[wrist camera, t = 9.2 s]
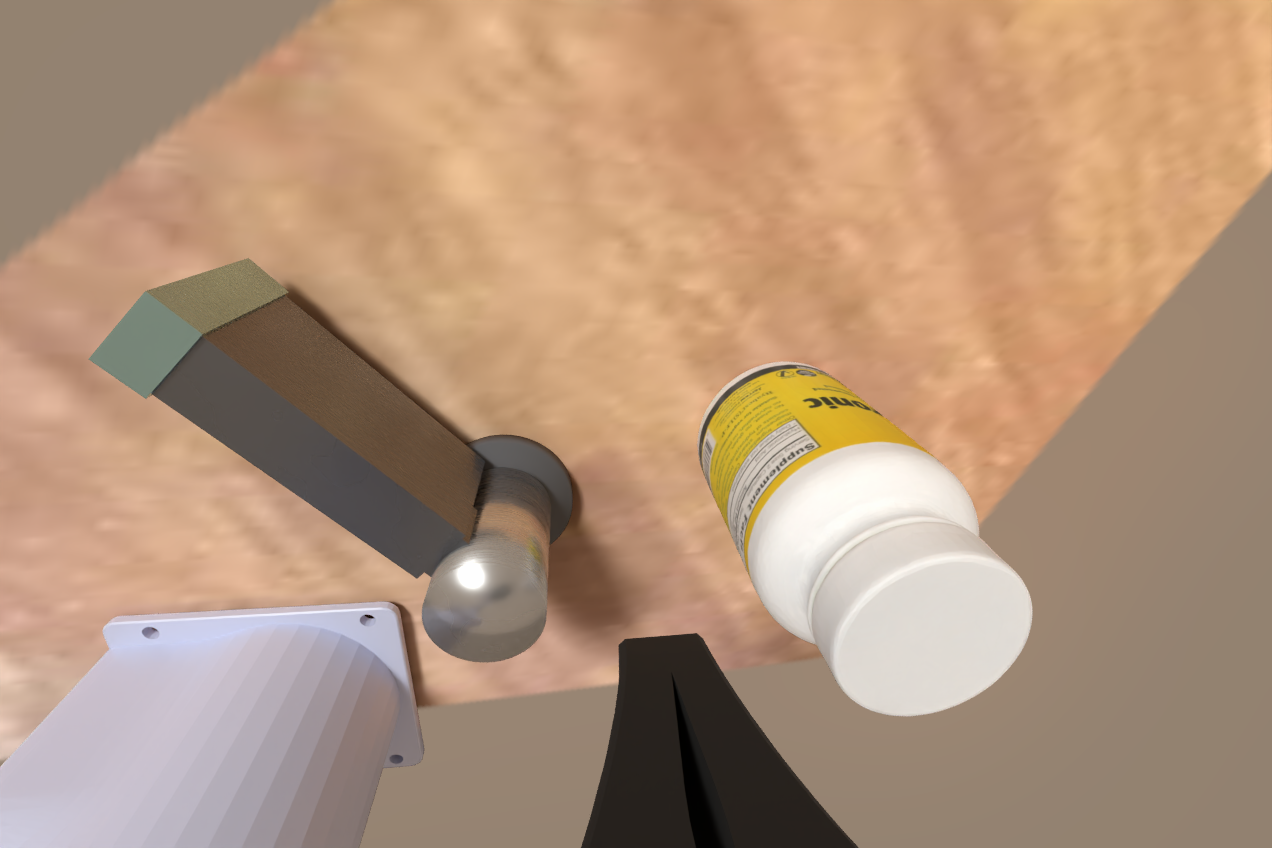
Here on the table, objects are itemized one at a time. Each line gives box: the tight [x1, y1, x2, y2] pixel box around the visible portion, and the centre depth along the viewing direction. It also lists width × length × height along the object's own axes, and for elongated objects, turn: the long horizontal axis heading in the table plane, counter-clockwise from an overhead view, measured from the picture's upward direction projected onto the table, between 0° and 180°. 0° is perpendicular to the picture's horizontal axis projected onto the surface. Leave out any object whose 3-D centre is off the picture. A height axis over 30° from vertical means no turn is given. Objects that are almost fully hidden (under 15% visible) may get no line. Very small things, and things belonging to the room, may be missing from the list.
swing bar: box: [89, 258, 551, 662], centre depth 16 cm, size 11×3×5 cm, turn 42°
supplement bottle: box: [698, 362, 1032, 716], centre depth 16 cm, size 5×5×10 cm
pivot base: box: [466, 435, 572, 545], centre depth 20 cm, size 4×4×1 cm
